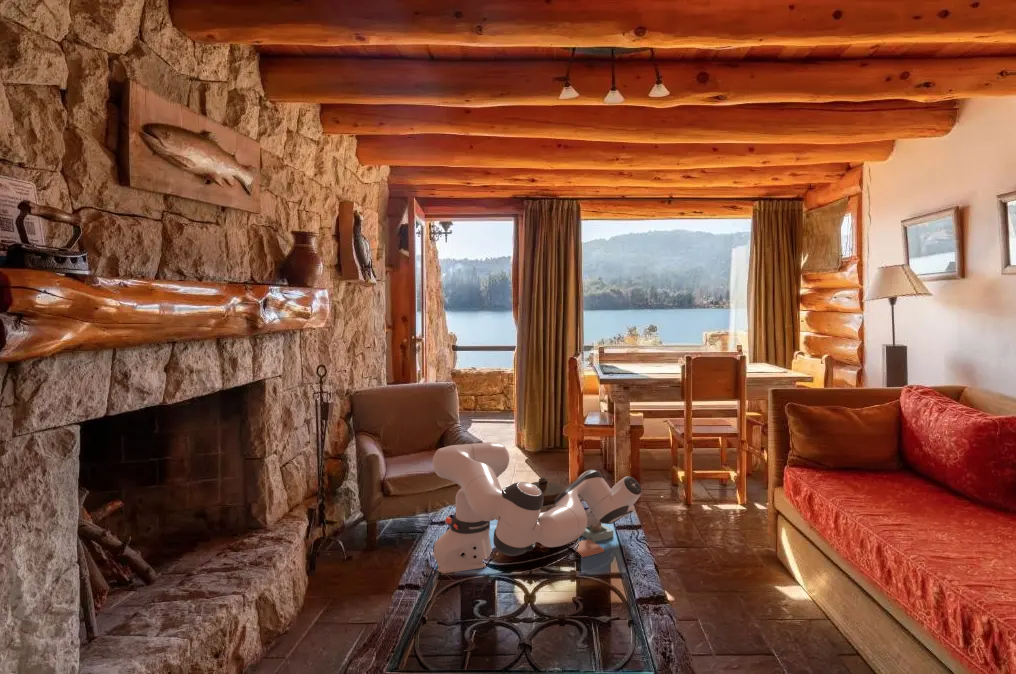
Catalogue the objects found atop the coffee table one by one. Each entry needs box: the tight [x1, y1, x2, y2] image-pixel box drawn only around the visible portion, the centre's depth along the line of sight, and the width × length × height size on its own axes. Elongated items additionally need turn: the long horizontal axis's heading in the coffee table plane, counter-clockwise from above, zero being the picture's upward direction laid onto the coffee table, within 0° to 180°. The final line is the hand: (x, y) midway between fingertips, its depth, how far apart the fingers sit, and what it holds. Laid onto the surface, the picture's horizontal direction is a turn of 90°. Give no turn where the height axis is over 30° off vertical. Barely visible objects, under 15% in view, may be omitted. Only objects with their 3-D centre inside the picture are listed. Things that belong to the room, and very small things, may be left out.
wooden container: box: [530, 476, 564, 513], centre depth 222 cm, size 15×15×22 cm
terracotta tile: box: [577, 538, 605, 558], centre depth 212 cm, size 9×9×1 cm
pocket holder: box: [581, 523, 614, 543], centre depth 223 cm, size 9×9×2 cm
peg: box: [590, 523, 602, 533], centre depth 223 cm, size 4×4×8 cm
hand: (595, 523), depth 223 cm, fingers open, 5 cm apart
